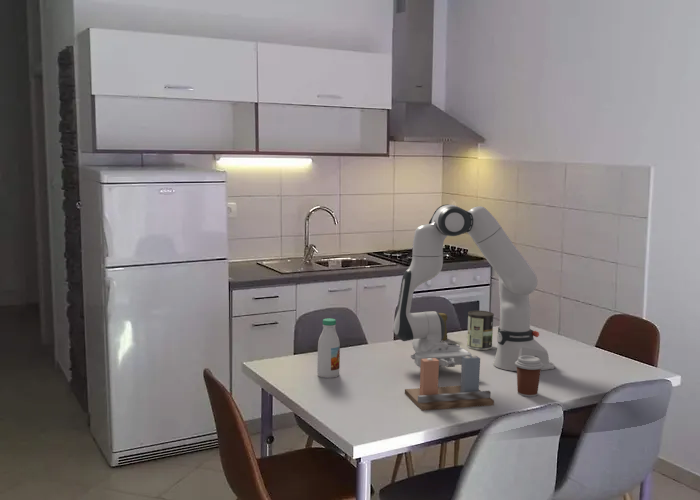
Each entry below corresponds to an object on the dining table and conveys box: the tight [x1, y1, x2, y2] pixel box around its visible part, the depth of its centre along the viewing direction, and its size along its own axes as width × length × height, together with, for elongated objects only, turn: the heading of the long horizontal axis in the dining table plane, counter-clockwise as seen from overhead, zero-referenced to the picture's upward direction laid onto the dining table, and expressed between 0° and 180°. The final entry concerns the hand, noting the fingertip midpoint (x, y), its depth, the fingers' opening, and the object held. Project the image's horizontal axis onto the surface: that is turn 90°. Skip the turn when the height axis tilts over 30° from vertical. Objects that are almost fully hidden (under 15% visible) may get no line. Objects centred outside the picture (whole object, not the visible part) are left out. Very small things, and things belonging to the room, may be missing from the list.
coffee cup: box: [515, 356, 543, 398], centre depth 241 cm, size 9×9×12 cm
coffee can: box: [466, 310, 495, 351], centre depth 298 cm, size 10×10×14 cm
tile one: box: [419, 358, 440, 395], centre depth 232 cm, size 5×3×12 cm, turn 105°
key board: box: [404, 384, 495, 412], centre depth 235 cm, size 24×16×4 cm, turn 105°
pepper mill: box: [438, 312, 448, 342], centre depth 310 cm, size 6×6×11 cm
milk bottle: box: [316, 317, 341, 379], centre depth 256 cm, size 8×8×20 cm
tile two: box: [460, 355, 481, 393], centre depth 235 cm, size 5×3×12 cm, turn 105°
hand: (451, 364), depth 251 cm, fingers closed
